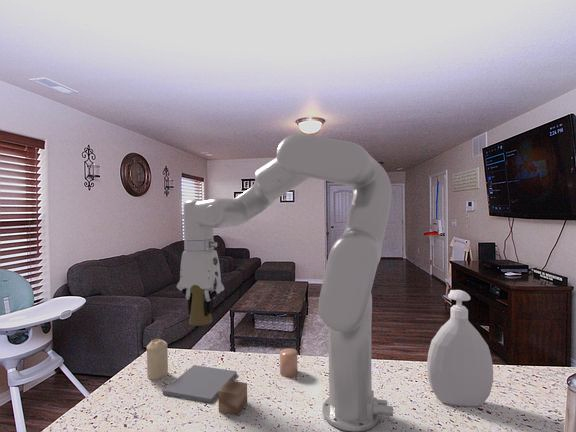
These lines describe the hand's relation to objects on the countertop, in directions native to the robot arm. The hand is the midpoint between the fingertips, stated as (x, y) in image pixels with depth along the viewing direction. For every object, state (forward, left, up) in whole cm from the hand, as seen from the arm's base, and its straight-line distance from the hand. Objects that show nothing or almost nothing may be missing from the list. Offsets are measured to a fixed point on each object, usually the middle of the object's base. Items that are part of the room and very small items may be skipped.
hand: (200, 313), depth 88 cm
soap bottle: (-64, -10, -19) cm, 68 cm away
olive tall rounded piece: (0, 0, -2) cm, 2 cm away
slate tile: (0, 0, -19) cm, 19 cm away
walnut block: (-13, +7, -19) cm, 24 cm away
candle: (+15, -1, -19) cm, 25 cm away
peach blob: (-21, -12, -19) cm, 31 cm away
